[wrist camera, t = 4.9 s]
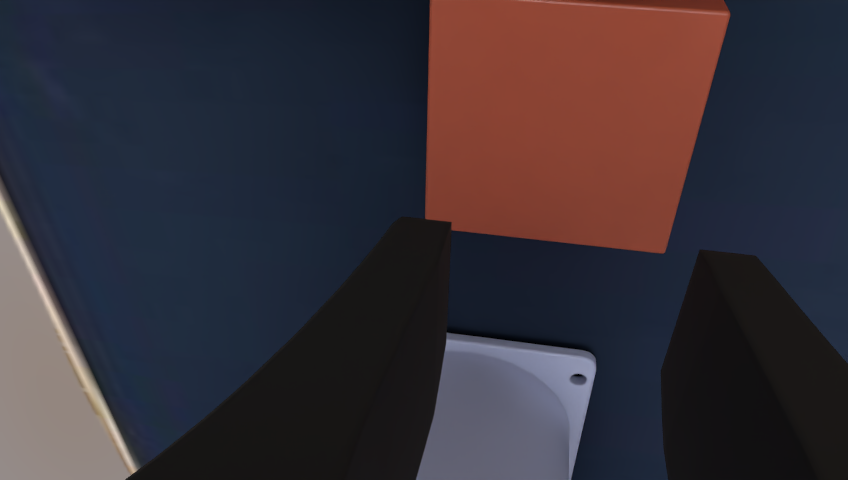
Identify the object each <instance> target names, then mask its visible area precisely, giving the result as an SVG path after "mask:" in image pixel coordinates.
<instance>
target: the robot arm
mask: <svg viewBox="0 0 848 480" xmlns="http://www.w3.org/2000/svg"><path fill="white" fill-rule="evenodd" d="M451 228H452V222H447V221H438V220H429V219H420V218H411V217H401V218H399V219H398V220H397V221H395V222H394V223H393V224H392V225H391V226H390V228H389V229H388V230H387V232H386V233H385V234H384V236H383V237H382V238H381V239H380V241H379V242H378V243H377V244H376V246H375V247H374V248H373V249H372V250H371V252H370V253H369V254H368V255H367V257H366V258H365V259H364V260H363V261H362V262H361V264H360V265H359V266H358V267H357V268H356V269H355V271H354V272H353V273H352V274H351V275H350V276H349V277H348V279H347V280H346V281H345V282H344V283H343V284H342V285H341V287H340V288H339V289H338V290H337V291H336V292H335V293H334V294H333V295H332V296H331V297H330V298H329V299H328V301H327V302H326V303H325V304H324V305H323V306H322V307H321V308H320V309H319V310H318V311H317V312H316V313H315V314H314V315H313V317H312V318H311V319H310V320H309V321H308V322H307V323H306V324H305V325H304V326H303V327H302V328H301V329H300V330H299V331H298V332H297V333H296V334H295V335H294V336H293V337H292V338H291V339H290V340H289V341H288V342H287V343H286V344H285V345H284V346H283V347H282V348H281V349H280V350H279V351H278V352H276V353H275V354H274V355H273V356H272V357H271V358H270V359H269V360H268V361H267V362H266V363H265V364H264V365H263V366H262V367H261V368H260V369H259V370H258V371H257V372H255V373H254V374H253V375H252V376H251V377H250V378H249V379H248V380H247V381H246V382H245V383H244V384H243V385H242V386H241V387H239V388H238V389H237V390H236V391H235V392H234V393H233V394H231V395H230V396H229V397H228V398H227V399H226V400H225V401H223V402H222V403H221V404H220V405H219V406H218V407H217V408H215V409H214V410H213V411H212V412H211V413H210V414H208V415H207V416H206V417H205V418H204V419H202V420H201V421H200V422H199V423H198V424H196V425H195V426H194V427H193V428H191V429H190V430H189V431H188V432H186V433H185V434H184V435H183V436H182V437H180V438H179V439H178V440H177V441H175V442H174V443H173V444H172V445H170V446H169V447H168V448H167V449H165V450H164V451H163V452H162V453H160V454H159V455H158V456H156V457H155V458H154V459H152V460H151V461H150V462H148V463H147V464H146V465H144V466H143V467H142V468H140V469H139V470H138V471H136V472H135V473H134V474H132V475H131V476H130V477H128V478H127V479H126V480H571V477H572V473H573V468H574V464H575V460H576V455H577V451H578V447H579V442H580V438H581V434H582V429H583V425H584V421H585V416H586V412H587V408H588V403H589V399H590V395H591V390H592V386H593V382H594V377H595V373H596V358H595V357H594V355H593V354H591V353H590V352H588V351H584V350H578V349H570V348H562V347H555V346H547V345H539V344H531V343H524V342H516V341H508V340H500V339H493V338H485V337H477V336H469V335H462V334H454V333H447V314H448V293H449V271H450V250H451ZM574 374H581V375H582V376H574ZM661 395H662V424H663V445H664V454H665V461H666V468H667V474H668V480H848V364H847V363H846V361H845V360H844V359H843V358H842V357H841V356H840V354H839V353H838V352H837V351H836V350H835V349H834V348H833V346H832V345H831V344H830V343H829V342H828V341H827V339H826V338H825V337H824V336H823V335H822V333H821V332H820V331H819V330H818V329H817V328H816V326H815V325H814V324H813V323H812V322H811V320H810V319H809V318H808V317H807V316H806V315H805V313H804V312H803V311H802V310H801V309H800V307H799V306H798V305H797V304H796V303H795V301H794V300H793V299H792V298H791V297H790V295H789V294H788V293H787V292H786V291H785V289H784V288H783V287H782V286H781V285H780V283H779V282H778V281H777V280H776V279H775V278H774V276H773V275H772V274H771V273H770V272H769V270H768V269H767V268H766V267H765V266H764V265H763V264H762V262H761V261H760V260H759V259H758V258H757V257H756V256H753V255H744V254H735V253H726V252H717V251H708V250H700V251H699V254H698V257H697V260H696V263H695V266H694V269H693V272H692V276H691V279H690V282H689V285H688V288H687V291H686V294H685V297H684V301H683V304H682V307H681V310H680V313H679V316H678V319H677V322H676V326H675V329H674V332H673V335H672V338H671V341H670V344H669V347H668V350H667V354H666V357H665V360H664V363H663V366H662V369H661Z"/></svg>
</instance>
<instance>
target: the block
mask: <svg viewBox="0 0 848 480" xmlns="http://www.w3.org/2000/svg"><path fill="white" fill-rule="evenodd" d="M729 18H730V11H729V9H728V7H727V6H726V4H725V2H724V0H430V15H429V60H428V105H427V151H426V196H425V219H429V220H438V221H447V222H452V228H451V230H454V231H463V232H472V233H481V234H490V235H499V236H508V237H517V238H526V239H535V240H544V241H553V242H562V243H571V244H580V245H589V246H598V247H607V248H616V249H625V250H634V251H643V252H652V253H664V252H665V251H666V247H667V244H668V240H669V237H670V233H671V229H672V226H673V222H674V218H675V215H676V211H677V207H678V204H679V200H680V197H681V193H682V189H683V186H684V182H685V178H686V175H687V171H688V167H689V164H690V160H691V156H692V153H693V149H694V146H695V142H696V138H697V135H698V131H699V127H700V124H701V120H702V116H703V113H704V109H705V106H706V102H707V98H708V95H709V91H710V87H711V84H712V80H713V76H714V73H715V69H716V66H717V62H718V58H719V55H720V51H721V47H722V44H723V40H724V36H725V33H726V29H727V25H728V22H729Z"/></svg>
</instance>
